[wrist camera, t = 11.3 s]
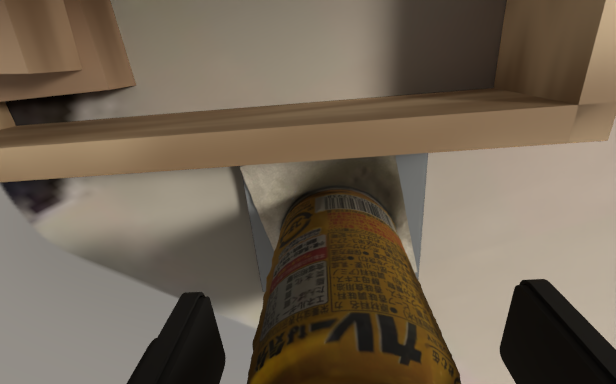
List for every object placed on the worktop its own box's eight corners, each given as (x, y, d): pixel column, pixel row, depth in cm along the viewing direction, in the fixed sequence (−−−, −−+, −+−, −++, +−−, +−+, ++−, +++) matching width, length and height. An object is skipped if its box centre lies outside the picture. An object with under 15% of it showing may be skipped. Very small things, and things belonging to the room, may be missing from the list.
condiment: (292, 295, 19) (258, 647, 8) (240, 165, 15) (47, 450, 4) (416, 269, 18) (583, 629, 7) (388, 124, 14) (625, 357, 3)
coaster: (239, 139, 15) (236, 142, 15) (425, 126, 15) (430, 128, 14) (264, 284, 19) (262, 291, 18) (414, 277, 18) (417, 284, 18)
